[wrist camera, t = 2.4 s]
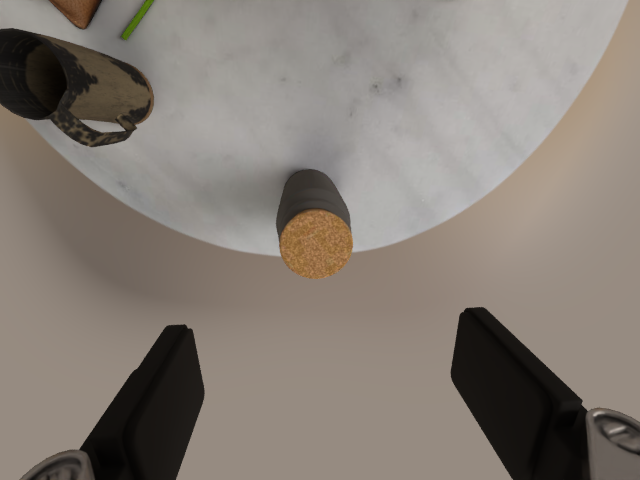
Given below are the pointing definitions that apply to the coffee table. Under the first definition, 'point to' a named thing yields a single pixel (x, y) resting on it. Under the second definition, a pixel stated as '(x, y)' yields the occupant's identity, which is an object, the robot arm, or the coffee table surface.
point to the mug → (71, 86)
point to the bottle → (313, 226)
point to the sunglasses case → (78, 10)
